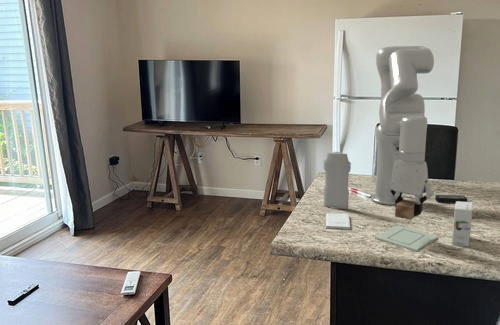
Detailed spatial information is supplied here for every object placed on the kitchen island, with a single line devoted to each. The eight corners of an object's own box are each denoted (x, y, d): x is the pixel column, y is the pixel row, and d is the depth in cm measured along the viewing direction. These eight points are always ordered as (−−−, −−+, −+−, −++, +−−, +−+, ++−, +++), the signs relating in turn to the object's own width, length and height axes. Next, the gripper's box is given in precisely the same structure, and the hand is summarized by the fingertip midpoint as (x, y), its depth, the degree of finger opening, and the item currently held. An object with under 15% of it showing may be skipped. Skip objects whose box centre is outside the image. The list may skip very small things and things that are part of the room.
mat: (397, 226, 153) (397, 225, 153) (437, 238, 143) (437, 236, 143) (374, 238, 144) (375, 236, 143) (416, 251, 134) (416, 249, 133)
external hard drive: (349, 218, 163) (350, 231, 151) (326, 217, 165) (325, 230, 153) (349, 214, 163) (350, 226, 151) (326, 213, 164) (325, 225, 152)
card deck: (395, 216, 139) (395, 203, 138) (404, 209, 145) (405, 197, 144) (411, 219, 136) (411, 206, 135) (420, 212, 142) (420, 200, 141)
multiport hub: (434, 200, 180) (435, 194, 180) (463, 200, 179) (464, 195, 178) (437, 203, 176) (438, 198, 176) (467, 204, 175) (467, 198, 174)
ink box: (452, 234, 145) (455, 200, 143) (469, 237, 143) (472, 202, 140) (451, 244, 138) (454, 208, 135) (469, 247, 136) (472, 210, 133)
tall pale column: (320, 206, 174) (321, 151, 169) (324, 203, 178) (325, 149, 172) (347, 210, 169) (349, 154, 164) (350, 207, 173) (352, 151, 167)
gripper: (379, 154, 140) (377, 209, 145) (433, 162, 128) (428, 222, 132) (392, 151, 145) (389, 204, 150) (444, 158, 133) (440, 216, 137)
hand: (408, 212), depth 141 cm, fingers closed on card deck, 5 cm apart
